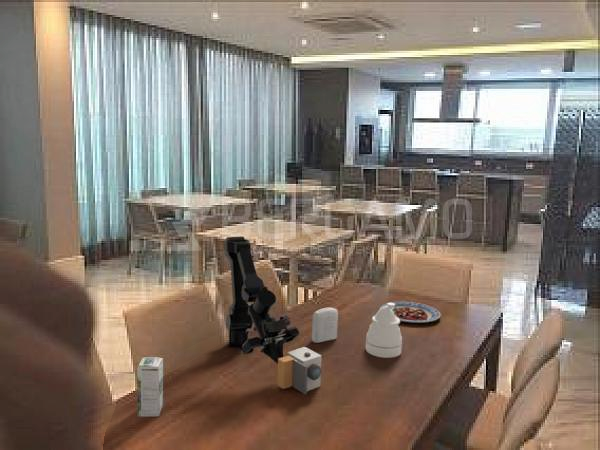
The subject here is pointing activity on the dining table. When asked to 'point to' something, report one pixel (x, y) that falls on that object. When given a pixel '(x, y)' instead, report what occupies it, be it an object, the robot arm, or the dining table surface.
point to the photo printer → (324, 325)
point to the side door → (292, 374)
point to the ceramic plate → (414, 312)
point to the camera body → (309, 365)
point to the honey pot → (384, 334)
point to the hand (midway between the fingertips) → (282, 365)
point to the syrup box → (150, 386)
